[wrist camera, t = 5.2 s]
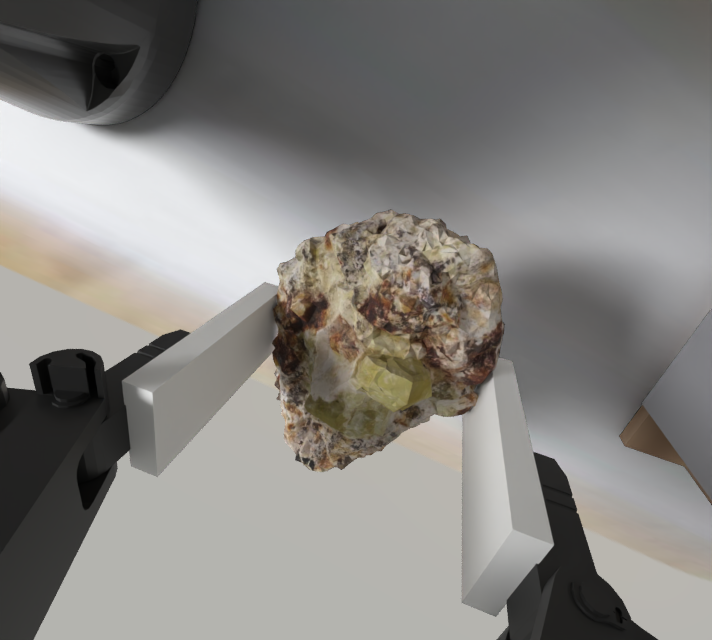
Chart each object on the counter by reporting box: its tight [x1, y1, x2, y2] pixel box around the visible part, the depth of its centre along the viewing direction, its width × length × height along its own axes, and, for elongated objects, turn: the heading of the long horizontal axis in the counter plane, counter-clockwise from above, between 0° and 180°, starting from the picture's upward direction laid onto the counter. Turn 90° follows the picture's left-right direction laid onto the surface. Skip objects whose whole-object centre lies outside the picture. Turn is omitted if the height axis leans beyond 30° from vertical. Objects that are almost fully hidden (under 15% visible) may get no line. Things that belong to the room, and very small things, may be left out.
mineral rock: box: [272, 210, 504, 472], centre depth 13 cm, size 11×4×8 cm
